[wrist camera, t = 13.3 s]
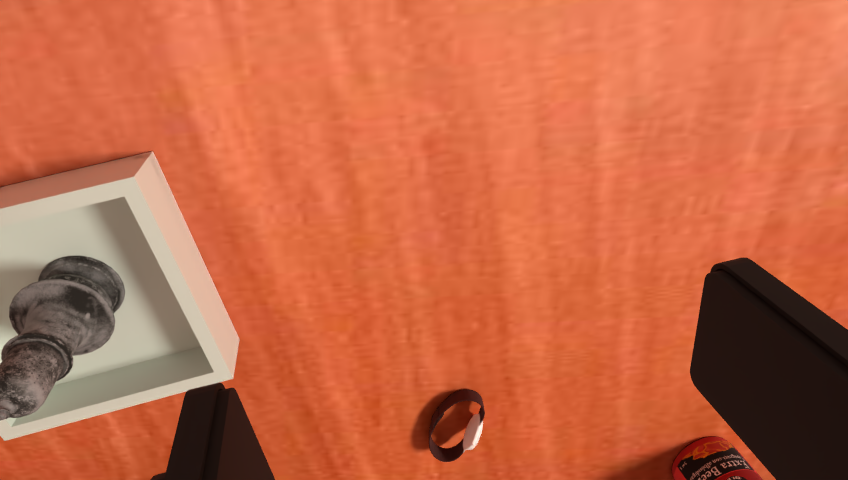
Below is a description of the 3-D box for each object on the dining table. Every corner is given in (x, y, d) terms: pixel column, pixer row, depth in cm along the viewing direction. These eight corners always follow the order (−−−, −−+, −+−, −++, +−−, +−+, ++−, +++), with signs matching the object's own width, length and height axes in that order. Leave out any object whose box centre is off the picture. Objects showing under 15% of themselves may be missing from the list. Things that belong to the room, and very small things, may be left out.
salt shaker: (38, 321, 38) (-62, 462, 28) (28, 247, 35) (-85, 373, 25) (131, 325, 39) (70, 460, 29) (128, 255, 37) (60, 375, 27)
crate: (-107, 212, 34) (-160, 246, 30) (152, 151, 35) (134, 176, 31) (32, 394, 42) (4, 440, 38) (239, 339, 43) (233, 378, 39)
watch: (456, 446, 54) (466, 477, 51) (414, 439, 52) (421, 470, 49) (491, 389, 51) (503, 417, 48) (447, 379, 50) (457, 408, 47)
